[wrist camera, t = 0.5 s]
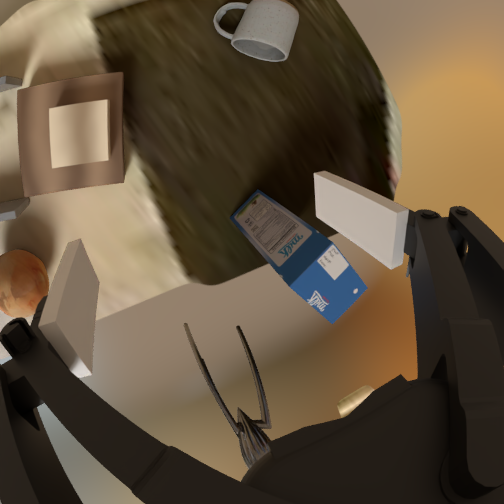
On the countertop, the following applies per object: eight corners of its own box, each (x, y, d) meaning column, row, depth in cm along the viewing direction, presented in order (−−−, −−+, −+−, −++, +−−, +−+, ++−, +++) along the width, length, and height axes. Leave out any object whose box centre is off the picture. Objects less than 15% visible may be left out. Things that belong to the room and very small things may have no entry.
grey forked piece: (200, 361, 58) (254, 493, 33) (182, 323, 52) (239, 476, 27) (244, 344, 60) (315, 467, 35) (233, 304, 54) (315, 444, 30)
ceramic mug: (287, 21, 35) (313, 9, 28) (271, 65, 38) (296, 58, 31) (222, -4, 30) (239, -23, 24) (203, 41, 33) (217, 28, 27)
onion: (37, 304, 40) (25, 345, 32) (-7, 269, 34) (-28, 305, 26) (65, 266, 40) (54, 304, 31) (19, 226, 34) (-5, 257, 26)
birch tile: (58, 164, 30) (52, 168, 27) (55, 108, 27) (49, 108, 24) (110, 156, 32) (108, 160, 30) (109, 100, 29) (107, 99, 27)
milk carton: (229, 217, 46) (289, 286, 30) (257, 188, 46) (332, 242, 30) (267, 253, 52) (332, 324, 36) (293, 227, 52) (368, 288, 35)
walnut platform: (33, 189, 33) (24, 197, 30) (27, 91, 27) (17, 90, 23) (124, 176, 38) (123, 182, 34) (124, 75, 31) (122, 71, 28)
